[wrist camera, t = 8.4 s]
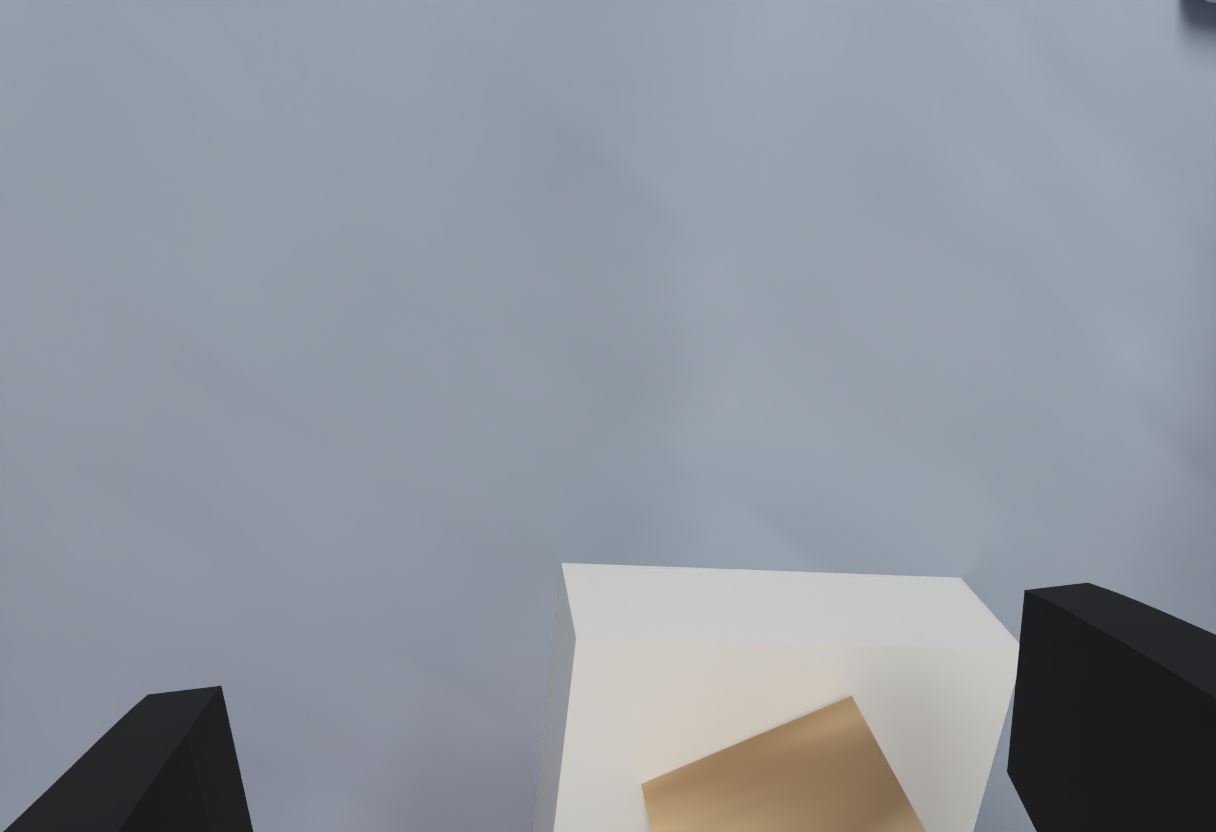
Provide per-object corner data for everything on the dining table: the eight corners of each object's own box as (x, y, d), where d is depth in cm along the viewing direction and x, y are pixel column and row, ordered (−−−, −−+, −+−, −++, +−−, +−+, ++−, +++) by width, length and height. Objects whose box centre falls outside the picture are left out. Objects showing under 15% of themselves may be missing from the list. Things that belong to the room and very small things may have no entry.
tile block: (951, 567, 22) (1024, 649, 19) (874, 879, 25) (928, 991, 22) (559, 553, 21) (576, 638, 18) (523, 884, 23) (533, 1003, 20)
